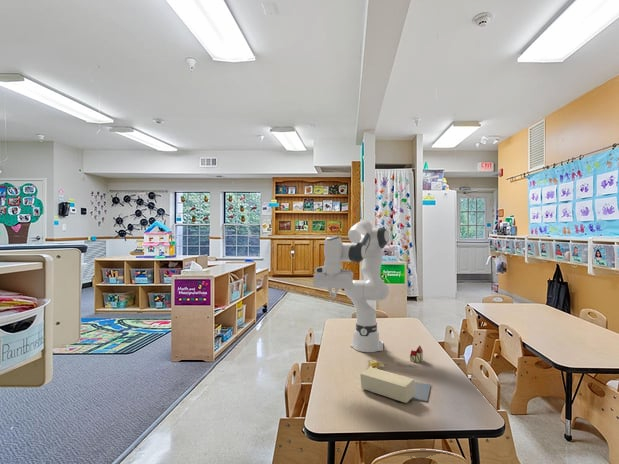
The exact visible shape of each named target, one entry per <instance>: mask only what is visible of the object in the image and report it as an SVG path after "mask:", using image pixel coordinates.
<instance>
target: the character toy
mask: <svg viewBox="0 0 619 464" xmlns="http://www.w3.org/2000/svg"><path fill="white" fill-rule="evenodd" d="M367 363H368V367H372V368H376V369H378V367H381V368H385V367H386V366H385V365H384V364H380V363H378V362H377V361H376V360H375V359H374V358H373V359H372V358H371V359H368V360H367Z"/></svg>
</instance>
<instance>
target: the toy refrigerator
mask: <svg viewBox="0 0 619 464" xmlns="http://www.w3.org/2000/svg"><path fill="white" fill-rule="evenodd" d="M376 368H377V367H376ZM376 368H372V367H370V366H368V368H366V369H365V370H363V371H362V372H361V373H360V385H361V386H360V387H361V389H362V390H366V391H368V392H370V391H371V392H370V393H373V392H374V393H375V394H378V395H381V396H384V397H386V398H390V399H392V400H395V401H399V402H401V403H405V404H407V403H408V402H409V401H410V400H412V399H411V398H412V397H413V396H414V395H415V383H414V382H415V379H414V378H411V377H407V376H406V375H405V376H404V375H401V374H397V373H394V372H389V371H386V370H382V369H379V368H377V369H376Z"/></svg>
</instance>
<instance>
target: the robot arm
mask: <svg viewBox="0 0 619 464" xmlns="http://www.w3.org/2000/svg"><path fill="white" fill-rule="evenodd" d="M347 237H348V240H349V241H350V242H343V241H342V240H341V237H340V236H337V235H332V236H327V237H326V238H325V239H324V244H323V245H324V246H323V255H324V256H323V257H324V262H323V265H321V266H318V267H316V268H314V272H315V273H314V274H313V278H312V285H313V286H314V287H315V288H326V289H327V292H328V293H329V297H330V298H337V294H338V291H339V290H340V289H341V290H342V289H343V290H344V293H345V295H346V297H347V298H348V299H349V300H351V302H352V304H353V305H354V308H355V314H356V323H355V331H354V332H353V337H352V338H353V341H352V343H351V344H350V347H351V348H353V349H354V350H356V351H358V352H363V353H375V352H381V351H384V341H383V340H381V339H380V332H378V322H377V311H376V309H375V308H374V307H373V306H371V305H370V304H369V303H368V301H375V302H378V301H385V300H386V299H387V298H388V296H389V294H390V289H389V286H388V285H387V283H386V282H384V281H383V280H382V277H381V268H382V267H381V266H382V263H383V250H382V249H385V246H386V245H388V243H389V241H390V235H389V230H387V228H385V227H373V224H372V223H371V222H370V221H368V220H365V219H363V220H360V221H358V222H356V223H354V224H353V225H352V226H351V227H350V229H349V230H348V233H347ZM343 262H350V263H351V262H352V263H361V262H362V263H361V264H362V265H361V269H360V272H361V274H362V275H363V276H364V277H365V278H367V280H362V279H359V280H358V279H354V272H353V270H351V269H343ZM332 289H334V292H332Z"/></svg>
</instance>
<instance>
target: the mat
mask: <svg viewBox="0 0 619 464" xmlns="http://www.w3.org/2000/svg"><path fill="white" fill-rule="evenodd" d="M414 383H415V395H414V396H413V397H412V398H411V399H410V400H412V401H413V400H414V401H418V402H424V403H428V401H429V395H430V392H431V391H430V390H431V387H432V384H430V383H423V382H418V381H414ZM369 392H370V393H374V392H371V391H369Z"/></svg>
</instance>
